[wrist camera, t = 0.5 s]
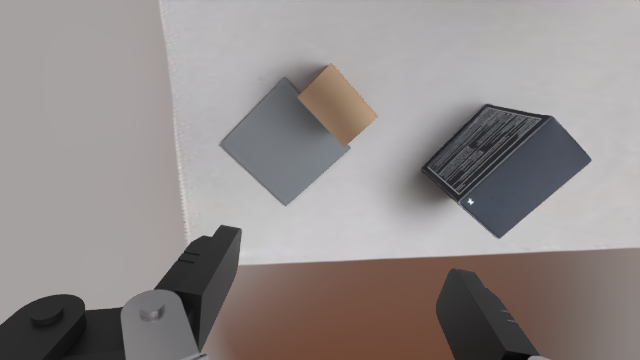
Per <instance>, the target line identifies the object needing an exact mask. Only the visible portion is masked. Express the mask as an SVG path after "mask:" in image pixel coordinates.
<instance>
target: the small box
mask: <svg viewBox="0 0 640 360" xmlns="http://www.w3.org/2000/svg"><path fill="white" fill-rule="evenodd" d="M591 161H592V160H591V158H590V157H589V156H588V154H587V153H586V152H585V151H584V150H583V149H582V148H581V146H580V145H579V144H578V143H577V142H576V141H575V140H574V139H573V137H572V136H571V135H570V134H569V133H568V132H567V131H566V130H565V129H564V128H563V127H562V125H561V124H560V123H559V122H558V121H557V120H556V119H555V118H554V117H553V116H548V115H540V114H533V113H527V112H524V111H519V110H513V109H508V108H503V107H498V106H493V105H491V104H487V105H485V106H484V107H483V108H482V109H481V110H480V111H479V112H478V113H477V114H476V115H475V116H474V117H473V118H472V119H471V120H470V121H469V122H468V123H467V124H466V125H465V126H464V127H463V128H462V129H461V130H460V131H459V132H458V133H457V134H456V135H455V136H454V137H453V138H452V139H451V140H450V141H449V142H448V143H447V144H446V145H445V146H444V147H443V148H442V149H441V150H440V151H439V152H438V153H437V154H436V155H435V156H434V157H433V158H432V159H431V160H430V161H429V162H428V163H427V164H426V165H425V166H424V167H423V168H422V172H423V173H425V174H426V175H428V176H429V177H430V178H431V179H432V180H433V181H434V182H435V183H436V184H437V185H438V186H439V187H440V188H441V189H442V190H443V191H445V192H446V193H447V194H448V195H449V196H450V197H451V198H452V199H453V200H454V201H455V202H457V204H458V205H460V206H461V207H462V208H463V209H464V210H465V211H467V212H468V213H469V214H470V215H471V216H472V217H473V218H474V219H476V220H477V221H478V222H479V223H480V224H481V225H482V226H483V227H484V228H486V229H487V230H488V231H489V232H490V233H491V234H492V235H493V236H494V237H496V238H497V239H500V238H501V237H502V236H503V235H505V234H506V233H507V232H508V231H509V230H511V229H512V228H513V227H514V226H515V225H516V224H518V223H519V222H520V221H521V220H522V219H523V218H525V217H526V216H527V215H528V214H529V213H530V212H532V211H533V210H534V209H535V208H536V207H538V206H539V205H540V204H541V203H542V202H544V201H545V200H546V199H547V198H548V197H549V196H551V195H552V194H553V193H554V192H555V191H557V190H558V189H559V188H560V187H561V186H563V185H564V184H565V183H566V182H567V181H569V180H570V179H571V178H572V177H573V176H575V175H576V174H577V173H578V172H579V171H581V170H582V169H583V168H584V167H585V166H587V165H588V164H589V163H590V162H591Z"/></svg>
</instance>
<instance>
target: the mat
mask: <svg viewBox="0 0 640 360" xmlns="http://www.w3.org/2000/svg"><path fill="white" fill-rule="evenodd" d="M299 95H300V93H299V92H298V91H297V90H296V89H295V88H294V87H293V86H292V85H291V84H290V83H289V82H288V81H287V80H286V78H283V79H282V80H281V81H280V82H279V84H278V85H277V86H276V87H275V88H274V89H273V90H272V91H271V92H270V93H269V94H268V95H267V96H266V97H265V98H264V99H263V100H262V101H261V102H260V103H259V104H258V105H257V106H256V107H255V108H254V110H253V111H252V112H251V113H250V114H249V115H248V116H247V117H246V118H245V119H244V120H243V121H242V122H241V123H240V124H239V125H238V126H237V127H236V128H235V129H234V130H233V131H232V132H231V133H230V134H229V136H228V137H227V138H226V139H225V140H224V141H223V142H222V143H221V144H220V146H221V147H223V148H224V149H225V150H226V151H227V152H228V153H229V154H230V155H231V156H232V157H233V158H234V159H235V160H236V161H238V162H239V163H240V164H241V165H242V166H243V167H244V168H245V169H246V170H247V171H248V172H249V173H250V174H252V175H253V176H254V177H255V178H256V179H257V180H258V181H259V182H260V183H261V184H262V185H263V186H264V187H265V188H267V189H268V190H269V191H270V192H271V193H272V194H273V195H274V196H275V197H276V198H277V199H278V200H279V201H280V202H282V203H283V204H284V205H285V206H287V205H288V204H289V203H290V202H291V201H292V200H294V199H295V198H296V197H297V196H298V195H299V194H300V193H301V192H302V191H304V190H305V189H306V188H307V187H308V186H309V185H310V184H311V183H312V182H314V181H315V180H316V179H317V178H318V177H319V176H320V175H321V174H323V173H324V172H325V171H326V170H327V169H328V168H329V167H330V166H331V165H333V164H334V163H335V162H336V161H337V160H338V159H339V158H340V157H341V156H343V155H344V154H345V153H346V152H347V151H348V150H349V149H350V147H349V146H348V145H346V146H345V147H343V146H342V145H341V144H340V142H339V141H338V140H337V139H336V138H335V137H334V136H333V135H332V134H331V133H330V132H329V131H328V130H327V129H326V128H325V127H324V125H323V124H322V123H321V122H320V121H319V120H318V119H317V118H316V117H315V116H314V115H313V114H312V113H311V112H310V111H309V110H308V108H307V107H306V106H305V105H304V104H303V103H302V102H301V101H300V100H299V99H298V98H297V97H298V96H299Z"/></svg>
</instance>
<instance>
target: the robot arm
mask: <svg viewBox="0 0 640 360" xmlns="http://www.w3.org/2000/svg"><path fill="white" fill-rule="evenodd" d="M241 234H242V230H241V228H235V227H230V226H225V225H220V227H219V228H218V229H217V231H216V232H215V234H214V235H213V237H209V236H201V237H200V238H198V239H196V240H194V241H193V242H191V243H190V245H189V246H188V247H187V248H186V250H185V251H184V253H183V254H182V255H181V256H180V257H179V258H178V261H176V262H175V263H174V265H173V266H172V267H171V269H170V270H169V271H168V272H167V273H166V275H165V276H164V277H163V279H162V280H161V281H160V282H159V283H158V285H157V286H156V287H155V288H154V290H150V291H146V292H143V293H141V294H138V295H136V296H134V297H133V298H132V299H130V300H129V301H128V302H127V303H126V304H125V305H124V307H120V308H112V309H99V310H86V311H85V304H84V302H83V300H82V299H80V298H79V297H77V296H74V295H67V294H61V295H52V296H48V297H44V298H41V299H38V300H36V301H33V302H31V303H29V304H27V305H25V306H24V307H22V308H21V309H19V310H18V311H17V312H15V313H14V314H13V315H12V316H11V317H10V318H8V319H7V320H6V321H5V322H4V323H2V324H1V325H0V360H210V359H209V357H208V356H207V355H206V354H204V355H200V353H201V350H202V348H203V346H204V344H205V342H206V339H207V337H208V335H209V333H210V331H211V329H212V326H213V324H214V322H215V320H216V317H217V315H218V313H219V311H220V309H221V307H222V304H223V302H224V300H225V298H226V296H227V294H228V291H229V289H230V287H231V285H232V283H233V281H234V278H235V275H236V271H237V267H238V261H239V252H240V243H241ZM436 313H437V317H438V320H439V322H440V325H441V327H442V330H443V332H444V334H445V337H446V339H447V342H448V344H449V346H450V349H451V351H452V353H453V356H454V358H455V360H550V359H547V358H545V357H541V356H540V355H539V353H538V352H537V351H536V349H535V348H534V346H533V345H532V344H531V342H530V341H529V339H528V338H527V337H526V335H525V334H524V332H523V331H522V330H521V328H520V327H519V325H518V324H517V323H515V320H514V318H513V317H512V316H511V314H510V313H508V310H507V309H506V307H505V306H504V305H503V303H502V302H501V301H500V299H499V298H498V297H497V296H495V295H494V294H493V293H492V292H491V291H489V289H487V288H485V287H484V285H483V284H482V282H481V281H480V279H479V278H478V276H477V275H476V274H475V273H474V272H470V271H465V270H459V269H451V270H450V271H449V273H448V276H447V278H446V280H445V283H444V285H443V288H442V290H441V293H440V295H439V297H438V300H437V304H436Z"/></svg>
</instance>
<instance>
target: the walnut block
mask: <svg viewBox="0 0 640 360" xmlns="http://www.w3.org/2000/svg"><path fill="white" fill-rule="evenodd" d="M297 98H298V99H299V100H300V101H301V102H302V103H303V104H304V105H305V106H306V107H307V108H308V110H309V111H310V112H311V113H312V114H313V115H314V116H315V117H316V118H317V119H318V120H319V121H320V122H321V123H322V124H323V125H324V127H325V128H326V129H327V130H328V131H329V132H330V133H331V134H332V135H333V136H334V137H335V138H336V139H337V140H338V141H339V142H340V144H341V145H342V146H343V147H345V146H346V145H347V144H348V143H349V142H350V141H352V140H353V139H354V138H355V137H356V136H357V135H358V134H359V133H360V132H361V131H363V130H364V129H365V128H366V127H367V126H368V125H369V124H370V123H371V122H373V121H374V120H375V119H376V118H377V117H378V116H377V114H376V113H375V112H374V111H373V110H372V109H371V108H370V106H369V105H368V104H367V103H366V102H365V101H364V100H363V98H362V97H361V96H360V95H359V94H358V93H357V92H356V90H355V89H354V88H353V87H352V86H351V85H350V84H349V82H348V81H347V80H346V79H345V78H344V77H343V76H342V74H341V73H340V72H339V71H338V70H337V69H336V68H335V66H334V65H333V64H332V63H331V64H330V65H329V66H328V67H327V68H326V69H325V70H324V71H323V72H322V73H321V74H320V75H319V76H318V77H317V78H316V79H315V80H314V81H313V82H312V83H311V84H310V85H309V86H308V87H307V88H306V89H305V90H304V91H303V92H302V93H301V94H300V95H299V96H298V97H297Z"/></svg>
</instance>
